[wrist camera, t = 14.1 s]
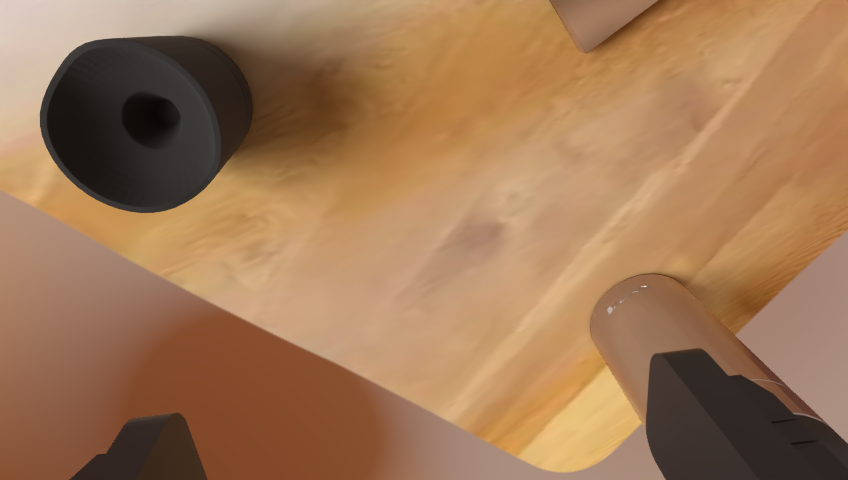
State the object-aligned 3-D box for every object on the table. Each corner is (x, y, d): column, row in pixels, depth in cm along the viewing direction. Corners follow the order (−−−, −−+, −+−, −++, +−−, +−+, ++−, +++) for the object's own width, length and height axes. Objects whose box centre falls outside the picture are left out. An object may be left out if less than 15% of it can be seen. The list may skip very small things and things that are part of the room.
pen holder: (102, 38, 36) (7, 51, 27) (241, 21, 37) (192, 27, 27) (147, 172, 40) (76, 222, 31) (272, 156, 40) (239, 201, 31)
